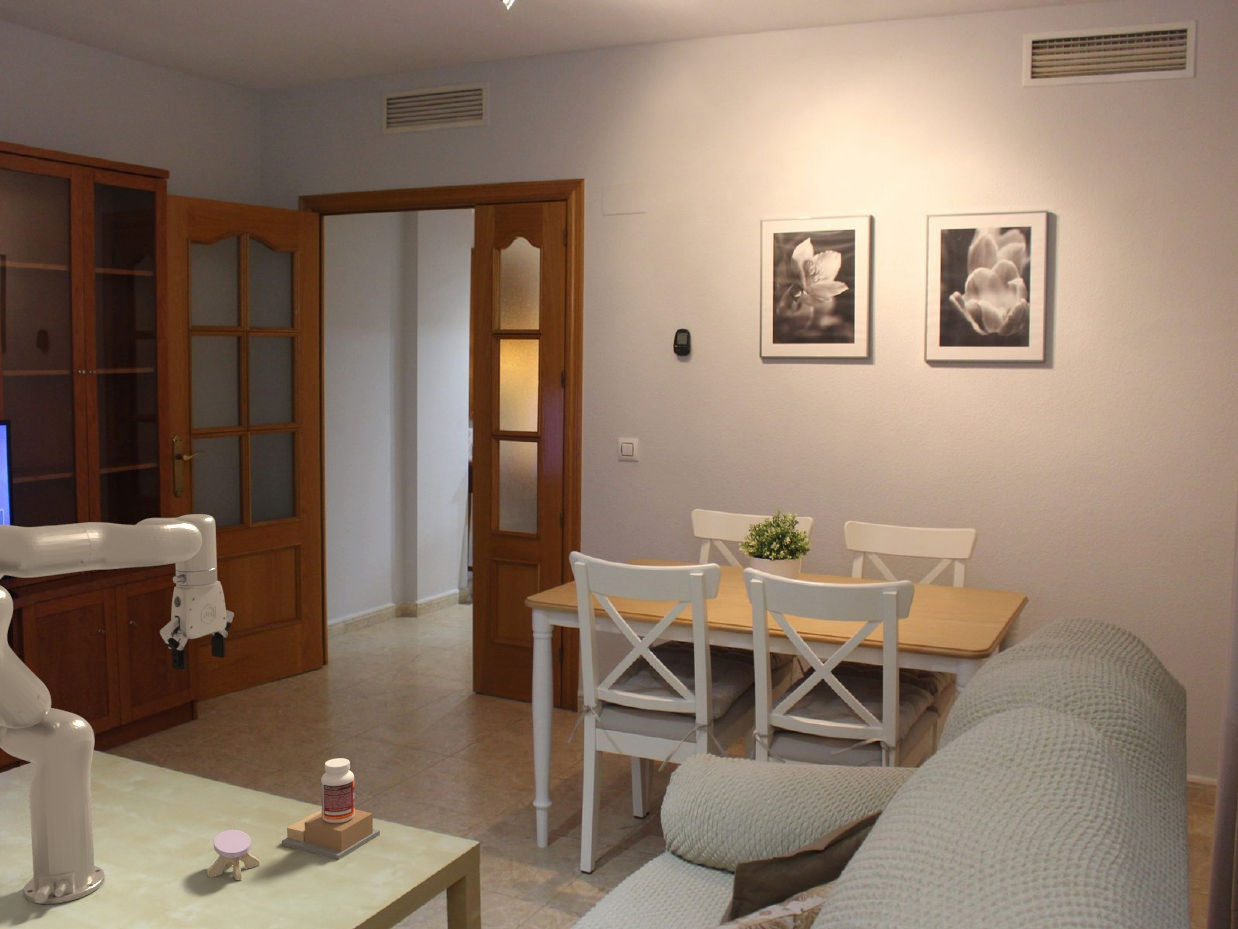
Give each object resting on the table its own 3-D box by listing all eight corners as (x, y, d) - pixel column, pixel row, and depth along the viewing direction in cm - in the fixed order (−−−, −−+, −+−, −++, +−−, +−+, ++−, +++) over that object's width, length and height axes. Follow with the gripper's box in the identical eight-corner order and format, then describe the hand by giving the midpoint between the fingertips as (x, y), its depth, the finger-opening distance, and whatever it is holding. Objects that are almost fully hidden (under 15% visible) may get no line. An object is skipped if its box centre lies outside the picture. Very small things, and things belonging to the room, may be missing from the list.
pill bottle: (361, 818, 205) (360, 762, 204) (332, 827, 200) (330, 771, 199) (344, 808, 209) (343, 754, 208) (316, 817, 205) (314, 762, 204)
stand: (379, 834, 208) (379, 811, 208) (338, 860, 198) (338, 835, 197) (324, 821, 215) (324, 798, 214) (281, 844, 204) (281, 820, 203)
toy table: (207, 862, 197) (206, 833, 196) (259, 855, 200) (258, 826, 199) (206, 887, 187) (205, 856, 187) (260, 879, 191) (259, 848, 190)
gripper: (174, 587, 199) (177, 676, 200) (244, 571, 214) (246, 654, 216) (146, 583, 202) (149, 671, 204) (217, 568, 217) (219, 650, 219)
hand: (199, 662), depth 210 cm, fingers open, 9 cm apart
